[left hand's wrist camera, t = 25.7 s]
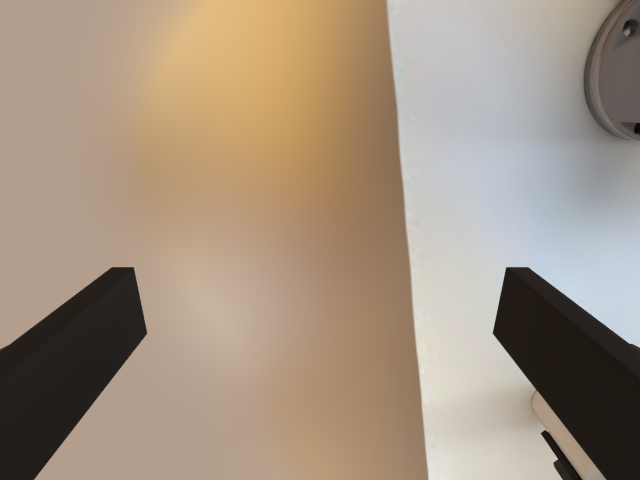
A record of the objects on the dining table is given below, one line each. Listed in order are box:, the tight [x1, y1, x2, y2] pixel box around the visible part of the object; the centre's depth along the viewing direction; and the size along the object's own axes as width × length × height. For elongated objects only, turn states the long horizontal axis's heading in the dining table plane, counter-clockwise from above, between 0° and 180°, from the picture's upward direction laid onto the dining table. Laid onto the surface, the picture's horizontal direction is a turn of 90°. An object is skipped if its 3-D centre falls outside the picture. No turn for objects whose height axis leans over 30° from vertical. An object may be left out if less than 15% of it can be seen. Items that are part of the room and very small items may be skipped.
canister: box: [532, 391, 606, 480], centre depth 45 cm, size 8×8×11 cm
